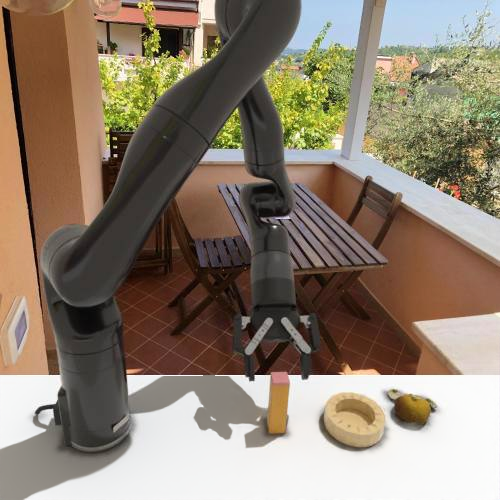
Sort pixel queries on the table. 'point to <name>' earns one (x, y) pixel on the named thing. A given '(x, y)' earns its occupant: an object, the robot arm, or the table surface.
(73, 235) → the robot arm
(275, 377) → the pencil
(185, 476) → the table surface
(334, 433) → the bowl
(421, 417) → the fruit
